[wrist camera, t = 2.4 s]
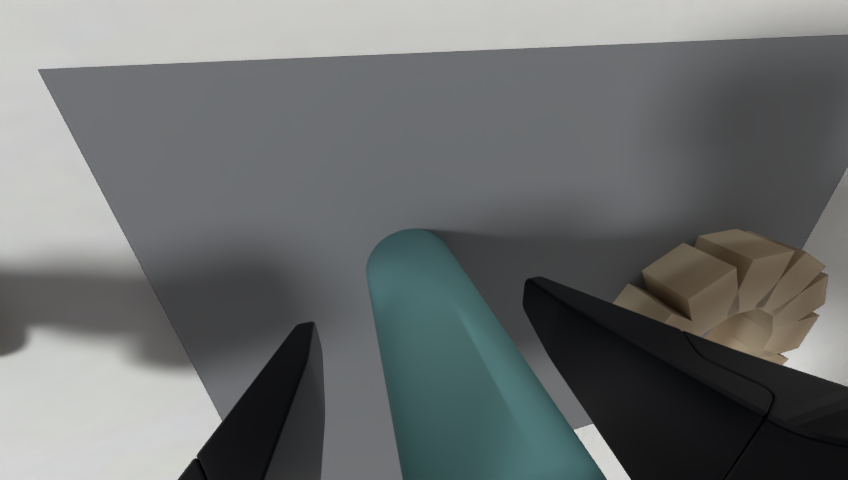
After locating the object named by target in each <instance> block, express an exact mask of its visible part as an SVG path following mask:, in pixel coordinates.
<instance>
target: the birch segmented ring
mask: <svg viewBox="0 0 848 480" xmlns="http://www.w3.org/2000/svg"><path fill="white" fill-rule="evenodd" d="M825 267H826V266H824V265H823V264H822V263H820V262H819V261H818V260H816V259H815V258H814V257H812V256H811V255H810V254H808V253H807V252H805V251H802V250H800V249H797V248H794V247H792V246H789V245H786V244H783V243H781V242H778V241H775V240H773V239H770V238H767V237H764V236H762V235H759V234H756V233H754V232H751V231H748V230H747V231H746V232H744V231H741V230H739V229H732V230H727V231H722V232H716V233H711V234H706V235H701V236H698V238H697V241H696V244H695V246H694V247H692V246H690V245H688V244H685V243H682V244H681V245H679V246H678V247H676V248H675V249H673V250H672V251H670V252H669V253H667V254H666V255H664V256H663V257H661V258H660V259H658V260H657V261H655V262H654V263H652V264H651V265H649V266H648V267H646V268H645V269H643V270H642V274H643V277H644V281H645V284H646V287H647V291H646V290H644V289H641V288H639V287H636V286H634V285H632V284H629V283H628V284H627V285H626V287H625V288H624V289H623V291H622V292H621V293H620V294H619V296H618V297H617V298H616V300H615V301H614V302H613V304H615V305H618V306H621V307H623V308H626V309H628V310H631V311H634V312H636V313H639V314H642V315H644V316H647V317H649V318H652V319H655V320H657V321H660V322H663V323H665V324H668V325H670V326H673V327H676V328H678V329H680V330H681V331H686V332H689V333H692V334H694V335H697V336H699V337H701V336H702V335H703V334H704V333H706V332H707V331H709V330H710V329H712V328H713V327H714V328H713V329H712V330H711V331H710V332H709V333H708V334H707V335H706V337H705V339H707V340H710V341H713V342H716V343H718V344H721V345H724V346H727V347H729V348H732V349H735V350H738V351H741V352H744V353H747V354H750V355H753V356H756V357H759V358H762V359H765V360H768V361H771V362H774V363H777V364H780V365H783V364H784V363H785V362H786V361H787V360H788V358H786V357H784V356H783V355H781V354H780V353H783V352H786V351H789V350H793V349H796V348H798V347H799V346H800V344H801V343H802V341H803V340H804V338H805V336H806V335H807V333H808V332H809V330H810V329H811V327H812V326H813V324H814V323H815V321H816V320H817V318H818V316H819V315H818V314H816V313H814V312H812V311H814V310H816V309H817V308H819V307H820V306H822V305H823V304H824V302H825V295H826V288H827V281H828V275H827V274H825V273H822V272H821V271H822V270H823V269H824V268H825Z"/></svg>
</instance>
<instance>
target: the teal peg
mask: <svg viewBox="0 0 848 480" xmlns="http://www.w3.org/2000/svg"><path fill="white" fill-rule="evenodd" d="M366 277H367V283H368V288H369V294H370V299H371V305H372V311H373V316H374V322H375V327H376V333H377V339H378V344H379V350H380V356H381V361H382V367H383V372H384V378H385V384H386V389H387V395H388V400H389V406H390V412H391V417H392V423H393V428H394V434H395V440H396V445H397V451H398V456H399V462H400V468H401V473H402V479H403V480H607V479H606V477H605V476H604V474H603V473H602V471H601V470H600V469H599V467H598V466H597V464H596V463H595V461H594V460H593V458H592V457H591V455H590V454H589V452H588V451H587V450H586V448H585V447H584V445H583V444H582V442H581V441H580V439H579V438H578V436H577V435H576V433H575V432H574V431H573V429H572V428H571V426H570V425H569V423H568V422H567V420H566V419H565V417H564V416H563V414H562V413H561V411H560V410H559V409H558V407H557V406H556V404H555V403H554V401H553V400H552V398H551V397H550V395H549V394H548V392H547V391H546V390H545V388H544V387H543V385H542V384H541V382H540V381H539V379H538V378H537V376H536V375H535V373H534V372H533V371H532V369H531V368H530V366H529V365H528V363H527V362H526V360H525V359H524V357H523V356H522V354H521V353H520V351H519V350H518V349H517V347H516V346H515V344H514V343H513V341H512V340H511V338H510V337H509V335H508V334H507V332H506V331H505V330H504V328H503V327H502V325H501V324H500V322H499V321H498V319H497V318H496V316H495V315H494V313H493V312H492V311H491V309H490V308H489V306H488V305H487V303H486V302H485V300H484V299H483V297H482V296H481V294H480V293H479V291H478V290H477V289H476V287H475V286H474V284H473V283H472V281H471V280H470V278H469V277H468V275H467V274H466V272H465V271H464V270H463V268H462V267H461V265H460V264H459V262H458V261H457V259H456V258H455V256H454V255H453V253H452V252H451V251H450V249H449V248H448V246H447V245H446V243H445V242H444V241H443V240H442V239H441V238H440V237H439V236H437V235H436V234H434V233H432V232H430V231H427V230H423V229H405V230H401V231H398V232H395V233H393V234H391V235H389V236H387V237H386V238H384V239H383V240H382V241H380V242H379V243H378V244H377V245H376V247H375V248H374V249H373V251H372V252H371V254H370V256H369V258H368V261H367V265H366Z"/></svg>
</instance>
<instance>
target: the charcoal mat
mask: <svg viewBox="0 0 848 480" xmlns="http://www.w3.org/2000/svg"><path fill="white" fill-rule="evenodd" d="M38 71H39V73H40V75H41V77H42V79H43V80H44V82H45V84H46V86H47V88H48V90H49V92H50V94H51V96H52V98H53V99H54V101H55V103H56V105H57V107H58V109H59V111H60V113H61V115H62V117H63V119H64V120H65V122H66V124H67V126H68V128H69V130H70V132H71V134H72V136H73V138H74V139H75V141H76V143H77V145H78V147H79V149H80V151H81V153H82V155H83V157H84V158H85V160H86V162H87V164H88V166H89V168H90V170H91V172H92V174H93V176H94V177H95V179H96V181H97V183H98V185H99V187H100V189H101V191H102V193H103V195H104V197H105V198H106V200H107V202H108V204H109V206H110V208H111V210H112V212H113V214H114V216H115V217H116V219H117V221H118V223H119V225H120V227H121V229H122V231H123V233H124V235H125V236H126V238H127V240H128V242H129V244H130V246H131V248H132V250H133V252H134V254H135V256H136V257H137V259H138V261H139V263H140V265H141V267H142V269H143V271H144V273H145V275H146V276H147V278H148V280H149V282H150V284H151V286H152V288H153V290H154V292H155V294H156V295H157V297H158V299H159V301H160V303H161V305H162V307H163V309H164V311H165V313H166V314H167V316H168V318H169V320H170V322H171V324H172V326H173V328H174V330H175V332H176V334H177V335H178V337H179V339H180V341H181V343H182V345H183V347H184V349H185V351H186V353H187V354H188V356H189V358H190V360H191V362H192V364H193V366H194V368H195V370H196V372H197V373H198V375H199V377H200V379H201V381H202V383H203V385H204V387H205V389H206V391H207V393H208V394H209V396H210V398H211V400H212V402H213V404H214V406H215V408H216V410H217V412H218V413H219V415H220V417H221V419H222V421H223V420H224V419H225V417H226V416H227V415H228V413H229V412H230V411H231V409H232V408H233V407H234V406H235V404H236V403H237V402H238V400H239V399H240V398H241V396H242V395H243V394H244V392H245V391H246V390H247V389H248V387H249V386H250V385H251V383H252V382H253V381H254V379H255V378H256V377H257V375H258V374H259V373H260V372H261V370H262V369H263V368H264V366H265V365H266V364H267V362H268V361H269V360H270V358H271V357H272V356H273V355H274V353H275V352H276V351H277V349H278V348H279V347H280V345H281V344H282V343H283V341H284V340H285V339H286V338H287V336H288V335H289V334H290V332H291V331H292V330H293V328H294V327H295V326H296V325H297V324H300V323H305V322H310V321H313V322H315V324H316V327H317V331H318V335H319V338H320V342H321V346H322V353H323V371H324V392H325V429H324V443H323V457H322V470H321V480H403V479H402V473H401V468H400V462H399V456H398V451H397V445H396V440H395V434H394V428H393V423H392V417H391V412H390V406H389V400H388V395H387V389H386V384H385V378H384V372H383V367H382V361H381V356H380V350H379V344H378V339H377V333H376V327H375V322H374V316H373V311H372V305H371V299H370V294H369V288H368V283H367V277H366V265H367V261H368V258H369V256H370V254H371V252H372V251H373V249H374V248H375V247H376V245H377V244H378V243H379V242H380V241H382V240H383V239H384V238H386V237H387V236H389V235H391V234H393V233H395V232H398V231H401V230H405V229H423V230H427V231H430V232H432V233H434V234H436V235H437V236H439V237H440V238H441V239H442V240H443V241H444V242H445V243H446V245H447V246H448V248H449V249H450V251H451V252H452V253H453V255H454V256H455V258H456V259H457V261H458V262H459V264H460V265H461V267H462V268H463V270H464V271H465V272H466V274H467V275H468V277H469V278H470V280H471V281H472V283H473V284H474V286H475V287H476V289H477V290H478V291H479V293H480V294H481V296H482V297H483V299H484V300H485V302H486V303H487V305H488V306H489V308H490V309H491V311H492V312H493V313H494V315H495V316H496V318H497V319H498V321H499V322H500V324H501V325H502V327H503V328H504V330H505V331H506V332H507V334H508V335H509V337H510V338H511V340H512V341H513V343H514V344H515V346H516V347H517V349H518V350H519V351H520V353H521V354H522V356H523V357H524V359H525V360H526V362H527V363H528V365H529V366H530V368H531V369H532V371H533V372H534V373H535V375H536V376H537V378H538V379H539V381H540V382H541V384H542V385H543V387H544V388H545V390H546V391H547V392H548V394H549V395H550V397H551V398H552V400H553V401H554V403H555V404H556V406H557V407H558V409H559V410H560V411H561V413H562V414H563V416H564V417H565V419H566V420H567V422H568V423H569V425H570V426H571V428H572V429H573V430H574V429H577V428H580V427H584V426H587V425H590V424H593V422H592V421H591V419H590V418H589V416H588V415H587V413H586V412H585V410H584V409H583V407H582V406H581V404H580V403H579V401H578V400H577V398H576V397H575V395H574V394H573V392H572V391H571V389H570V388H569V386H568V385H567V383H566V382H565V380H564V379H563V378H562V376H561V375H560V373H559V372H558V370H557V369H556V367H555V366H554V364H553V362H552V361H551V359H550V358H549V356H548V354H547V353H546V351H545V349H544V347H543V345H542V343H541V342H540V340H539V338H538V336H537V334H536V332H535V330H534V328H533V326H532V325H531V323H530V321H529V319H528V317H527V315H526V313H525V311H524V309H523V304H522V301H523V292H524V284H525V281H526V279H528V278H532V277H537V276H542V277H544V278H547V279H550V280H552V281H555V282H557V283H560V284H563V285H565V286H568V287H571V288H573V289H576V290H578V291H581V292H584V293H586V294H589V295H592V296H594V297H597V298H599V299H602V300H605V301H607V302H610V303H613V302H614V301H615V300H616V298H617V297H618V296H619V294H620V293H621V292H622V291H623V289H624V288H625V287H626V285H627V284H628V283H629V284H632V285H634V286H636V287H639V288H641V289H644V290H646V291H647V287H646V284H645V281H644V277H643V274H642V270H643V269H645V268H646V267H648V266H649V265H651V264H652V263H654V262H655V261H657V260H658V259H660V258H661V257H663V256H664V255H666V254H667V253H669V252H670V251H672V250H673V249H675V248H676V247H678V246H679V245H681V244H682V243H685V244H688V245H690V246H692V247H694V246H695V244H696V241H697V238H698V236H701V235H706V234H711V233H716V232H722V231H727V230H732V229H739V230H741V231H744V232H746V231H747V230H748V231H751V232H754V233H756V234H759V235H762V236H764V237H767V238H770V239H773V240H775V241H778V242H781V243H783V244H786V245H789V246H792V247H794V248H797V249H800V250H802V248H803V246H804V244H805V243H806V241H807V239H808V237H809V235H810V234H811V232H812V230H813V228H814V226H815V225H816V223H817V221H818V219H819V217H820V216H821V214H822V212H823V210H824V208H825V207H826V205H827V203H828V201H829V199H830V197H831V196H832V194H833V192H834V190H835V188H836V187H837V185H838V183H839V181H840V179H841V178H842V176H843V174H844V172H845V170H846V169H847V167H848V35H829V36H805V37H782V38H759V39H735V40H712V41H689V42H665V43H642V44H619V45H595V46H572V47H549V48H525V49H502V50H479V51H455V52H432V53H409V54H385V55H362V56H339V57H315V58H292V59H269V60H245V61H222V62H199V63H175V64H152V65H129V66H105V67H82V68H59V69H38ZM713 328H714V327H713ZM713 328H712V329H713ZM712 329H710V330H709V331H707V332H706V333H704V334H703V335H702V336H701V337H702V338H705V337H706V335H707V334H708V333H709V332H710V331H711V330H712Z"/></svg>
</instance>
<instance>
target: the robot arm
mask: <svg viewBox="0 0 848 480" xmlns="http://www.w3.org/2000/svg"><path fill="white" fill-rule="evenodd" d="M522 304H523V309H524V311H525V313H526V315H527V317H528V319H529V321H530V323H531V325H532V326H533V328H534V330H535V332H536V334H537V336H538V338H539V340H540V342H541V343H542V345H543V347H544V349H545V351H546V353H547V354H548V356H549V358H550V359H551V361H552V362H553V364H554V366H555V367H556V369H557V370H558V372H559V373H560V375H561V376H562V378H563V379H564V380H565V382H566V383H567V385H568V386H569V388H570V389H571V391H572V392H573V394H574V395H575V397H576V398H577V400H578V401H579V403H580V404H581V406H582V407H583V409H584V410H585V412H586V413H587V415H588V416H589V418H590V419H591V421H592V422H593V424H594V425H595V427H596V428H597V430H598V431H599V433H600V434H601V436H602V437H603V439H604V440H605V442H606V443H607V444H608V446H609V447H610V449H611V450H612V452H613V453H614V455H615V456H616V458H617V459H618V461H619V462H620V464H621V465H622V467H623V468H624V470H625V471H626V473H627V474H628V476H629V477H630V479H631V480H848V387H847V386H844V385H841V384H838V383H835V382H831V381H828V380H825V379H822V378H819V377H816V376H813V375H810V374H807V373H804V372H801V371H798V370H795V369H792V368H789V367H786V366H783V365H780V364H777V363H774V362H771V361H768V360H765V359H762V358H759V357H756V356H753V355H750V354H747V353H744V352H741V351H738V350H735V349H732V348H729V347H727V346H724V345H721V344H718V343H716V342H713V341H710V340H707V339H705V338H702V337H699V336H697V335H694V334H692V333H689V332H686V331H681V330H680V329H678V328H676V327H673V326H670V325H668V324H665V323H663V322H660V321H657V320H655V319H652V318H649V317H647V316H644V315H642V314H639V313H636V312H634V311H631V310H628V309H626V308H623V307H621V306H618V305H615V304H613V303H610V302H607V301H605V300H602V299H599V298H597V297H594V296H592V295H589V294H586V293H584V292H581V291H578V290H576V289H573V288H571V287H568V286H565V285H563V284H560V283H557V282H555V281H552V280H550V279H547V278H544V277H542V276H537V277H532V278H528V279H526V281H525V284H524V292H523V301H522ZM324 429H325V392H324V371H323V353H322V346H321V342H320V338H319V335H318V331H317V327H316V324H315V322H313V321H310V322H305V323H300V324H297V325H296V326H295V327H294V328H293V330H292V331H291V332H290V334H289V335H288V336H287V338H286V339H285V340H284V341H283V343H282V344H281V345H280V347H279V348H278V349H277V351H276V352H275V353H274V355H273V356H272V357H271V358H270V360H269V361H268V362H267V364H266V365H265V366H264V368H263V369H262V370H261V372H260V373H259V374H258V375H257V377H256V378H255V379H254V381H253V382H252V383H251V385H250V386H249V387H248V389H247V390H246V391H245V392H244V394H243V395H242V396H241V398H240V399H239V400H238V402H237V403H236V404H235V406H234V407H233V408H232V409H231V411H230V412H229V413H228V415H227V416H226V417H225V419H224V420H223V421H222V423H221V424H220V425H219V426H218V428H217V429H216V430H215V432H214V433H213V434H212V436H211V437H210V438H209V440H208V441H207V442H206V444H205V445H204V446H203V447H202V449H201V450H200V451H199V453H198V454H197V458H198V459H197V458H195V459H193V460H192V462H191V463H190V464H189V465H188V467H187V468H186V469H185V471H184V472H183V473H182V475H181V476H180V477H179V479H178V480H321V470H322V457H323V443H324Z"/></svg>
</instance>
